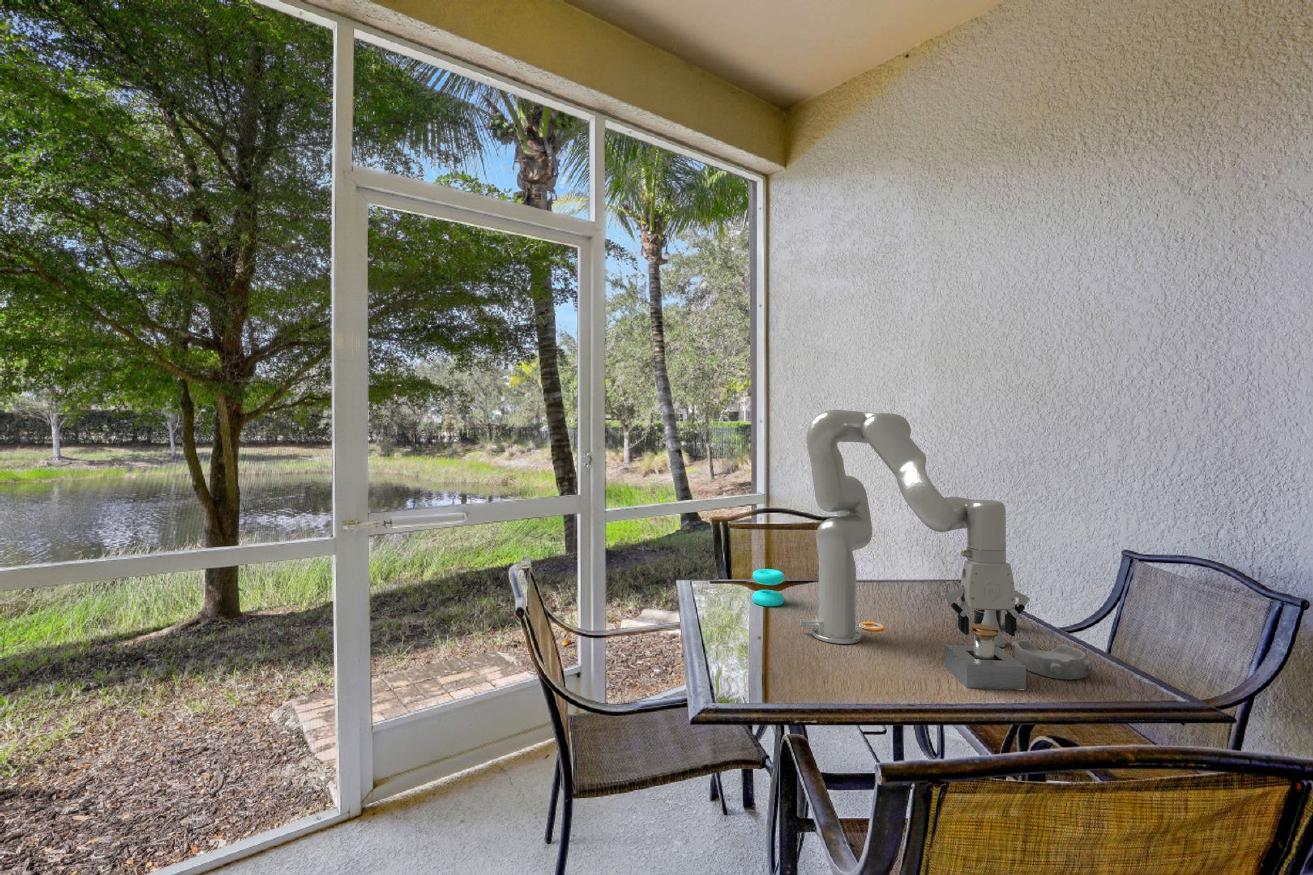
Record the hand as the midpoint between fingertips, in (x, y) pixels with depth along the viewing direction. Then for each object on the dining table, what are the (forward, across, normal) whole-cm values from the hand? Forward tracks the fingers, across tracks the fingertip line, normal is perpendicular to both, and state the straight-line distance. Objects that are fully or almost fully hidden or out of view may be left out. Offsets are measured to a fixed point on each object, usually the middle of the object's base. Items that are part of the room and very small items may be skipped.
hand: (987, 633), depth 134 cm
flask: (+10, +11, +24) cm, 29 cm away
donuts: (+9, -43, +54) cm, 70 cm away
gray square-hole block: (+10, -1, 0) cm, 10 cm away
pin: (+10, -1, 0) cm, 10 cm away
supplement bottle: (+10, +17, +40) cm, 44 cm away
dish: (+11, +17, +8) cm, 22 cm away
